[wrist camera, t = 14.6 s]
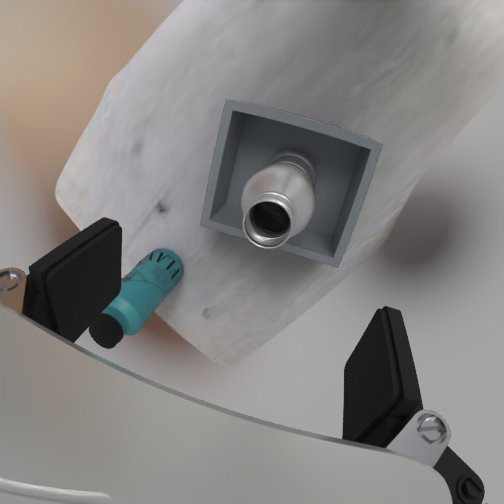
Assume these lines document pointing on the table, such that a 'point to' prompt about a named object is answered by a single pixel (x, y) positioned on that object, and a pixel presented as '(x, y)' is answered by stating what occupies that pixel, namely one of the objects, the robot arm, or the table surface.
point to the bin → (313, 145)
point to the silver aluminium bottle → (279, 199)
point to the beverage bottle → (137, 297)
